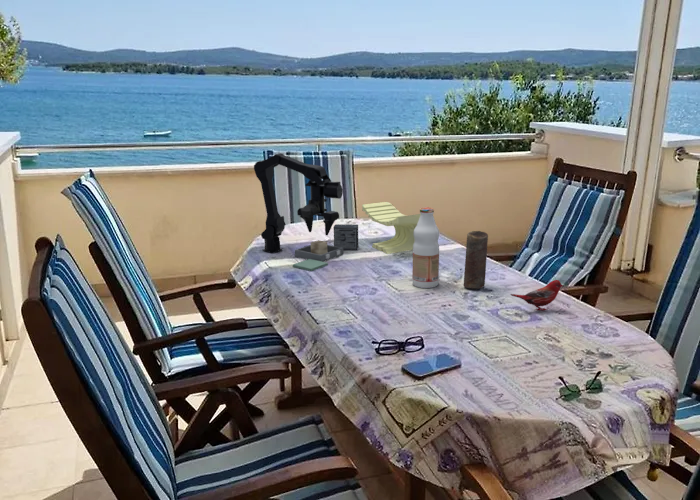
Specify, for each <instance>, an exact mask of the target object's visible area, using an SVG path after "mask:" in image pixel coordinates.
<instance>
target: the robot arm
mask: <svg viewBox="0 0 700 500" xmlns="http://www.w3.org/2000/svg"><path fill="white" fill-rule="evenodd" d="M277 166H282V167H284V168H287V169H290V170H293V171H294V172H297V173H300V174H302V175H303V176H304V178H305V179H308V181H307V182H306V183H305V187H310V199H308V201H307V202H308V203H307V204H306V205H304V206H303V207H299V208H298V209H297V211H296V212H297V216H298V217H299V218H301V219H302V220H304V223H305V225H306V227H307V231H308V232H309V233H312V231H313V223H314V216H315V217H316V216H317V217H322V218H323V220H322V222H323V223H324V234H325V236H328V235H329V234H330V232H331V229H332V226H333V225H334V223H335V221H337V220H338V219H340V213H339V212H338V211H334V210H330V211H328V210H327V209H328V208H326V207H325V206H326V205H325V203H326V202H327V200H328V199H337V200H338V199H339V200H340V199H341V198H342V197H343V193H344V189H343V187H342V185H341V181H332V180H331V178H330V177H329V175H328V174H327V172H326V171H327V170H326V169H325V167H324V166H322V165H319V164H318V165H317V164H309V163H305V162H303V161H301V160H298V159H295V158H292V157H290V156H288V155H285V154H283V153H281V152H280V153H275V154H273V155H271V156H270V157H269V158H267V159H263V160H259V161H256V162H255V163H254V165H253V170H254V173H255V176H256V178H257V179H258V180H259V182H260V185H261V190H262V191H261V192H262V196H263V200H264V207H265V210H266V219H265V229H264V230H263V231H262V232H261V234H260V236H261V239H263V240H264V241H263V242H264V248H263V249H262V250H261V251H262V252H265V253H270V254H275V253H276V252H277V253H278V252H280V251H283V248H281V241H280V236H282V234H283V232H284V231H285V228H286V225H287V224H286V221H285V217H284V215H282V216H281V215H280V213H279V211H278V204H277V199H276V195H275V189H274V185H273V177H274V168H276V167H277ZM325 197H326V198H325Z"/></svg>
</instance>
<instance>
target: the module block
mask: <svg viewBox="0 0 700 500" xmlns="http://www.w3.org/2000/svg"><path fill="white" fill-rule="evenodd" d="M310 245H311V252H310V253H314V254H319V255H322V254H325V253H328V251H327V245H328V241H325V240H319V239H317V240H314V241H312V242H310Z"/></svg>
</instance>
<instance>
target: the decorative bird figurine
mask: <svg viewBox="0 0 700 500" xmlns="http://www.w3.org/2000/svg"><path fill="white" fill-rule="evenodd" d="M562 287H564V285H563V284H562V283H561V281H560V280H558V279H554V280H552V281H550V282H549V283H548V284H546V285H544V286H543V287H540V288H537V289H535V290H532V291H530V292H527V293H526V294H514V293H511V294H510V296H512V297H514V298H519V299H521V300H524V301H525V302H526V303H527V304H528V305H533V306H534V307H535V309H534V311H546V310H550V308H545V307H544V306H548V305H549V304H551V303H552V302H553V301H555V299H556V298H557V296H558V294H559V292H560V290H561V288H562ZM542 307H543V308H542Z"/></svg>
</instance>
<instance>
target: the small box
mask: <svg viewBox="0 0 700 500" xmlns="http://www.w3.org/2000/svg"><path fill="white" fill-rule="evenodd" d="M333 225H334V226H333V246H336V247H341V248H343V251H358V250H359V224H347V223H346V224H345V223H344V224H338V223H337V224H333Z"/></svg>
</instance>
